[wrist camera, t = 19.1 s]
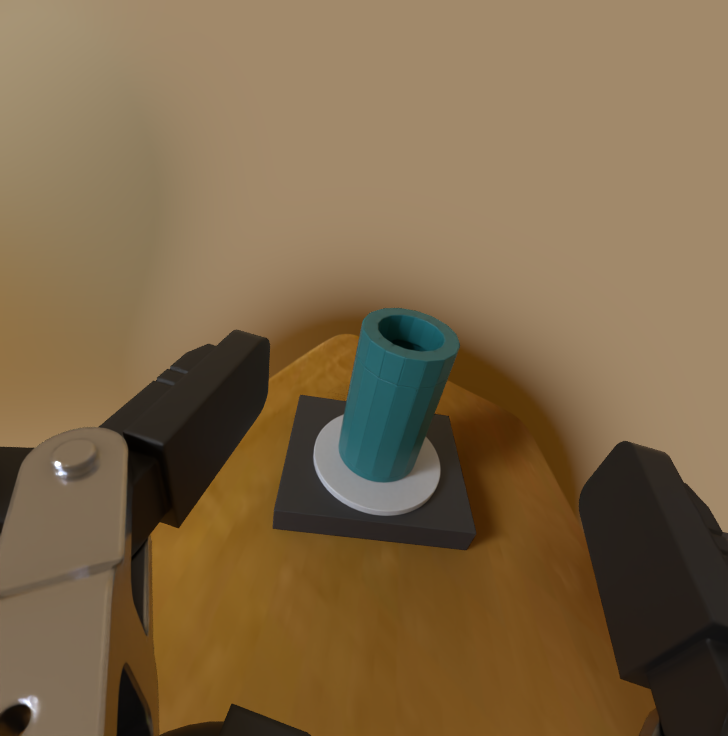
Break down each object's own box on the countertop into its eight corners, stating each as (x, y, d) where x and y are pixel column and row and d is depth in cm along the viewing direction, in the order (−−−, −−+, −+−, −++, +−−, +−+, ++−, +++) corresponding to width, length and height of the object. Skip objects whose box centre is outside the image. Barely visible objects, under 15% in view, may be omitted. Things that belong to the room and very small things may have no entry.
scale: (442, 432, 38) (450, 411, 37) (466, 550, 29) (480, 528, 27) (298, 412, 37) (300, 389, 35) (272, 529, 27) (274, 504, 26)
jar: (411, 427, 34) (450, 316, 28) (419, 487, 29) (469, 367, 23) (340, 418, 33) (363, 301, 27) (335, 477, 28) (362, 351, 22)
